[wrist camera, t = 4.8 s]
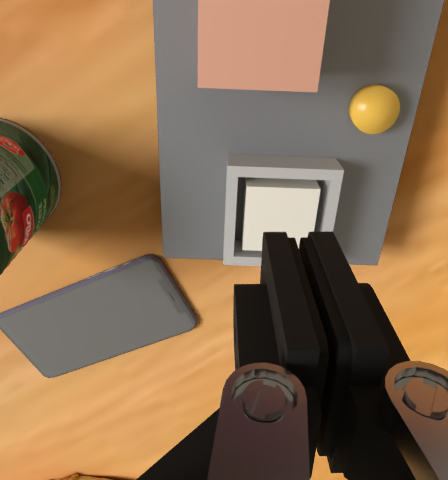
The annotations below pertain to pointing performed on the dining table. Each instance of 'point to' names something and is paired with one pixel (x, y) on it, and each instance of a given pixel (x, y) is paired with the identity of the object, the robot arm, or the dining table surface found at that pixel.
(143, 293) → the smartphone
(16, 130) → the canned tomato
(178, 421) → the dining table surface
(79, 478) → the croissant
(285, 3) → the block
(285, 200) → the button
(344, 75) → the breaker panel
